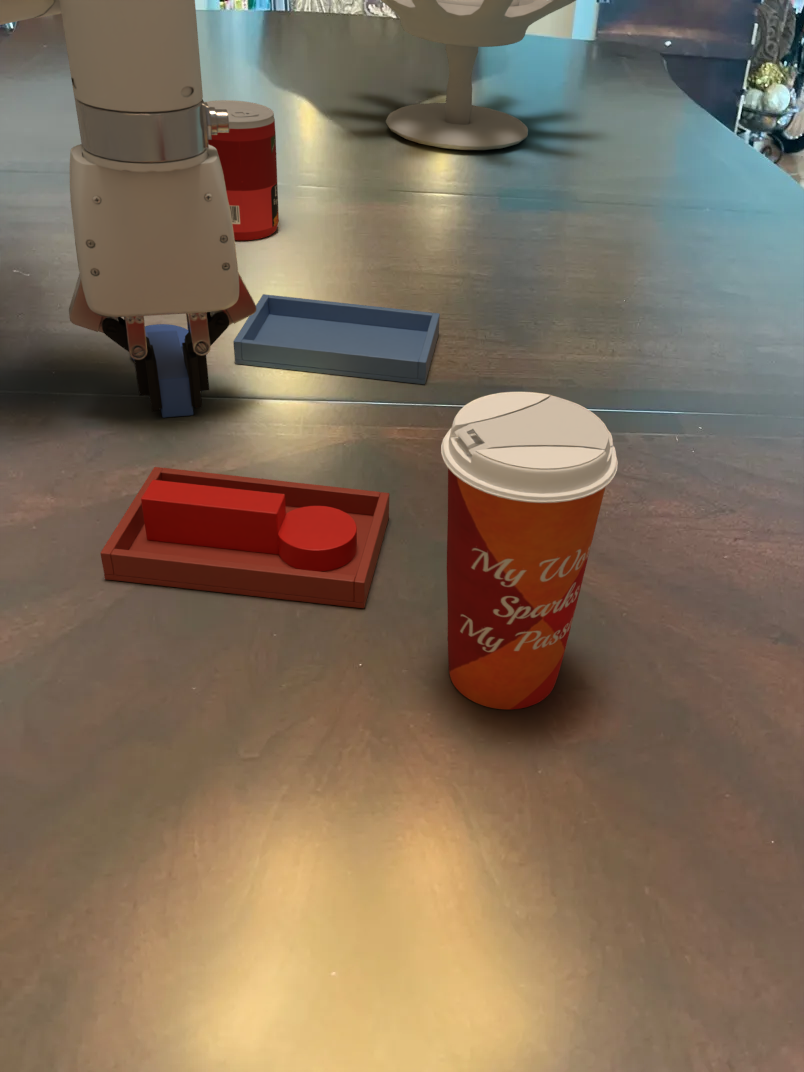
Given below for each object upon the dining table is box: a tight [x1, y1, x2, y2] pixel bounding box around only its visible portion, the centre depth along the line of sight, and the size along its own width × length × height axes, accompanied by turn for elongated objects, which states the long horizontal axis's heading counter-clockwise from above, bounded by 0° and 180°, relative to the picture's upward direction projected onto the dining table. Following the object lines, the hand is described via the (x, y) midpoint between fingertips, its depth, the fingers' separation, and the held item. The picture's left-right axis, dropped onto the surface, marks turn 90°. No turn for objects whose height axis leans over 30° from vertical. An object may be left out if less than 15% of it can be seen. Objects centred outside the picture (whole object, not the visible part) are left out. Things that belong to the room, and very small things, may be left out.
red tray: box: [99, 466, 391, 609], centre depth 64 cm, size 15×10×2 cm, turn 85°
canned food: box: [206, 99, 280, 241], centre depth 103 cm, size 8×8×11 cm
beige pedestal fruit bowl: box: [380, 0, 577, 151], centre depth 130 cm, size 34×35×27 cm
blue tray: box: [232, 293, 441, 385], centre depth 86 cm, size 15×10×2 cm, turn 85°
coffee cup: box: [440, 391, 619, 710], centre depth 53 cm, size 8×8×15 cm
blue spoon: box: [131, 323, 194, 418], centre depth 80 cm, size 13×5×3 cm, turn 19°
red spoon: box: [141, 480, 357, 572], centre depth 63 cm, size 13×5×3 cm, turn 85°
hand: (174, 399), depth 77 cm, fingers closed on blue spoon, 2 cm apart
